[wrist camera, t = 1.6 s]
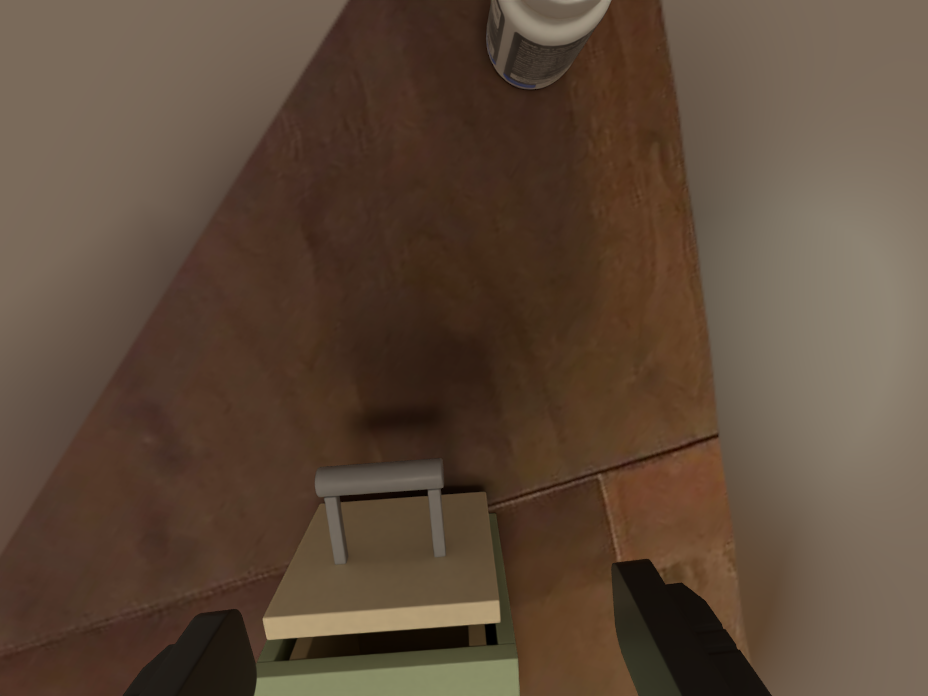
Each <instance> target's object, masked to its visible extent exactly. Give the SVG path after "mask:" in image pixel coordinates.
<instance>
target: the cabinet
mask: <svg viewBox="0 0 928 696" xmlns="http://www.w3.org/2000/svg"><path fill="white" fill-rule="evenodd" d="M489 521H490V529H491V537H492V545H493V553H494V561H495V569H496V577H497V585H498V593H499V601H500V617H501V621H500V622H499V623H488V624H485V631H486V644H487V646H476V647H463V648H449V649H436V650H423V651H409V652H396V653H383V654H369V655H356V656H343V657H329V658H316V659H303V660H290V657H291V654H292V651H293V649H294V646H295V644H296V641H297V639H298V638H288V639H274V640H267V641H266V644H265V646H264V648H263V650H262V652H261V654H260V657H259V659H258V661H257V663H256V668H257V683H256V689H255V694H254V696H520V689H519V668H518V655H517V649H516V642H515V636H514V629H513V623H512V616H511V609H510V603H509V596H508V590H507V583H506V577H505V570H504V563H503V557H502V550H501V544H500V537H499V531H498V524H497V517H496V513H492V514H489Z"/></svg>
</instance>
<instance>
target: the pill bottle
mask: <svg viewBox="0 0 928 696" xmlns="http://www.w3.org/2000/svg"><path fill="white" fill-rule="evenodd" d="M610 2H611V0H491V5H490V11H489V18H488V23H487V33H486V43H487V50H488V54H489V57H490V60H491V62H492V64H493V66H494V67H495V69H496V71H497V72H498V73H499V75H500V76H501V77H502V78H504V79H505V80H506V81H507V82H508V83H510V84H512V85H514V86H516V87H518V88H522V89H539V88H543V87H546V86H548V85H550V84H552V83H554V82H555V81H556V80H558V79H559V78H560V77H561V76H562V75H563V74H564V73H565V72H566V71H567V70H568V68H569V67H570V66H571V64H572V63H573V61H574V60H575V58H576V57H577V55H578V54H579V52H580V51H581V49H582V48H583V47H584V45H585V43H586V42H587V40H588V39H589V37H590V35H591V34H592V32H593V31H594V29H595V28H596V26H597V25H598V24H599V23H600V21H601V20H602V18H603V17H604V15H605V13H606V11H607V9H608V7H609V5H610Z"/></svg>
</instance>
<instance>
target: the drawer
mask: <svg viewBox="0 0 928 696" xmlns="http://www.w3.org/2000/svg"><path fill="white" fill-rule="evenodd" d="M443 487H444V470H443V461H442V459H441V458H437V459H423V460H409V461H395V462H382V463H368V464H354V465H341V466H327V467H320V468H318V469H317V472H316V476H315V490H316V493H317V495H318V496H319V497H325V498H324V500H325V503H324V504H319V506H318V508H317V510H316V512H315V514H314V516H313V518H312V520H311V522H310V524H309V526H308V528H307V530H306V532H305V534H304V536H303V538H302V540H301V542H300V544H299V546H298V548H297V550H296V553H295V555H294V557H293V559H292V561H291V563H290V565H289V567H288V569H287V571H286V573H285V575H284V577H283V579H282V581H281V583H280V585H279V587H278V589H277V591H276V593H275V595H274V597H273V599H272V601H271V603H270V605H269V607H268V609H267V611H266V613H265V615H264V617H263V623H264V628H265V633H266V637H267V640H274V639H288V638H298V639H297V641H296V644H295V646H294V649H293V651H292V654H291V657H290V660H303V659H316V658H329V657H343V656H356V655H369V654H383V653H396V652H409V651H423V650H436V649H449V648H463V647H476V646H487V644H486V631H485V624H488V623H499V622H500V621H501V617H500V601H499V593H498V585H497V577H496V569H495V561H494V553H493V545H492V537H491V529H490V521H489V513H488V505H487V497H486V492H475V493H461V494H447V495H441V488H443ZM424 489H428V496H420V497H406V498H393V499H379V500H365V501H352V502H340V496H342V495H355V494H369V493H383V492H396V491H410V490H424Z"/></svg>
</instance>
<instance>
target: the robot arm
mask: <svg viewBox="0 0 928 696" xmlns="http://www.w3.org/2000/svg"><path fill="white" fill-rule="evenodd" d="M611 570H612V586H613V601H614V616H615V627H616V633H617V637H618V642H619V645H620V649H621V652H622V655H623V658H624V661H625V663H626V666H627V668H628V670H629V673H630V675H631V678H632V680H633V683H634V685H635V688H636V690H637V693H638V695H639V696H772V695H771V694H770V692H769V691H768V690H767V688H766V687H765V685H764V684H763V682H762V681H761V680H760V678H759V677H758V675H757V674H756V672H755V671H754V669H753V668H752V667H751V665H750V664H749V662H748V661H747V659H746V658H745V657H744V655H743V654H742V652H741V651H740V650H738V649H737V647H736V644H735V642H734V641H733V639H732V638H731V637H730V635H729V634H728V632H727V631H726V629H723V627H722V624H721V622H720V621H719V619H718V618H717V617H716V615H715V614H714V612H713V611H712V609H711V608H710V607H709V605H708V604H707V602H706V601H705V600H704V599H702V598H701V597H700V596H698V595H697V594H696V593H695V592H693V591H692V590H691V589H689V588H688V587H687V586H685V585H684V584H683V583H675V584H667V585H665V583H664V581H663V580H662V578H661V577H660V575H659V573H658V572H657V570H656V568H655V567H654V565H653V564H652V562H651V561H650V560H649V559H641V560H633V561H625V562H617V563H613V564H612V569H611ZM256 683H257V668H256V663H255V660H254V656H253V653H252V649H251V646H250V642H249V639H248V635H247V632H246V628H245V625H244V621H243V618H242V615H241V613H240V612H239V611H238V610H237V609H231V610H223V611H215V612H207V613H200V614H198V615H196V616H195V617H194V618H193V620H192V621H191V622H190V624H189V625H188V627H187V628H186V629H185V631H184V632H183V634H182V635H181V636H180V638H179V639H178V641H177V642H176V644H172V645H168V646H167V647H166V648H165V649H164V650H163V651H162V652H161V653H160V654H158V655H157V656H156V657H155V658H154V659H153V660H152V661H151V662H149V663H148V664H147V665H146V666H145V667H144V668H143V669H142V670H141V671H140V673H139V674H138V675H137V677H136V678H135V680H134V681H133V682H132V684H131V685H130V686H129V688H128V689H127V690H126V692H125V693H124V694H123V696H254V694H255V689H256Z"/></svg>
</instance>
